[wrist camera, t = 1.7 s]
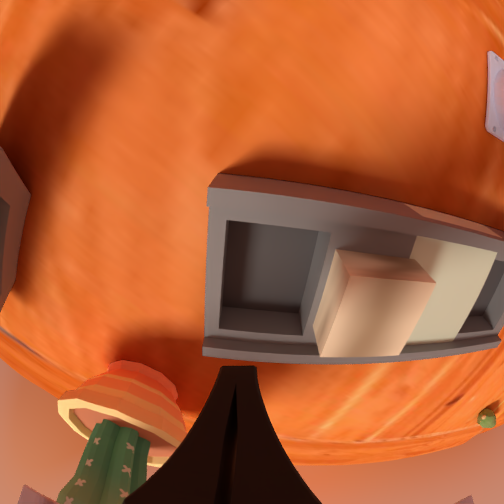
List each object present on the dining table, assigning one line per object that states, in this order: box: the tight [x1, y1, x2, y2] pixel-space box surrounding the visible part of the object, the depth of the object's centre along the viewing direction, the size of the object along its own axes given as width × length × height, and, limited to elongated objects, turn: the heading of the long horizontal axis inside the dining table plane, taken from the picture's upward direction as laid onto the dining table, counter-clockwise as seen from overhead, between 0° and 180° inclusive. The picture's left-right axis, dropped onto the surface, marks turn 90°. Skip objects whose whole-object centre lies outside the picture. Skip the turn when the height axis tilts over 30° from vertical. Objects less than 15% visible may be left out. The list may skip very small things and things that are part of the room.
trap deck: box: [202, 173, 504, 364], centre depth 18 cm, size 32×12×4 cm, turn 83°
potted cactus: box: [45, 360, 187, 504], centre depth 16 cm, size 15×15×25 cm
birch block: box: [313, 249, 436, 357], centre depth 16 cm, size 6×6×3 cm
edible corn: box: [477, 408, 496, 428], centre depth 38 cm, size 5×20×4 cm
